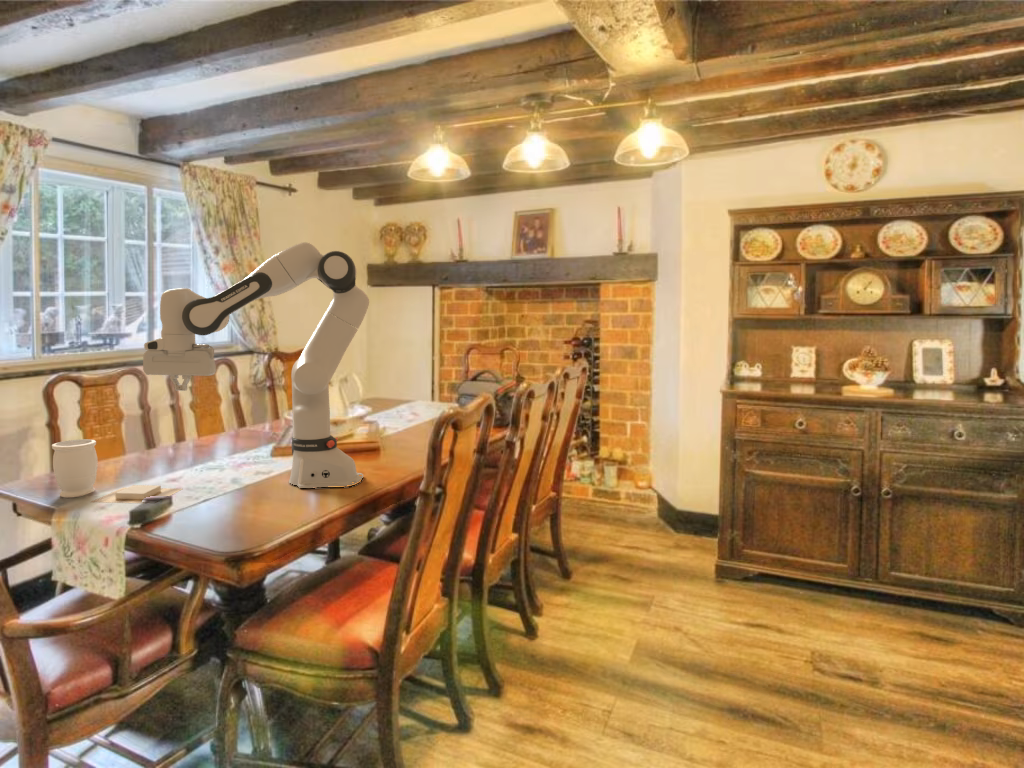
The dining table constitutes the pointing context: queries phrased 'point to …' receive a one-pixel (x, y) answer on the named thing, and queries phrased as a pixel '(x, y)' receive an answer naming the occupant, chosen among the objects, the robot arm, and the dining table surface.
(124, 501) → the cork mat
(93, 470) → the jar
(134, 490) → the beige flat block
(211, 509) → the dining table surface
